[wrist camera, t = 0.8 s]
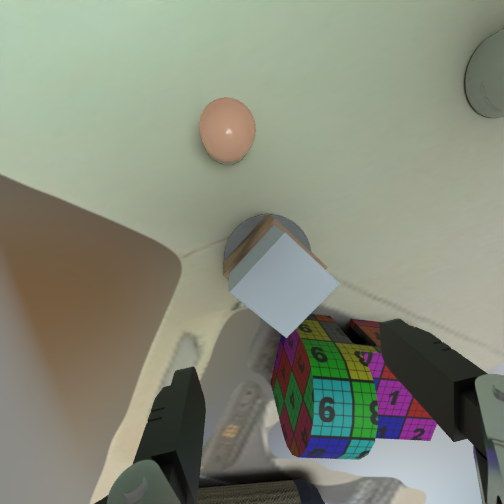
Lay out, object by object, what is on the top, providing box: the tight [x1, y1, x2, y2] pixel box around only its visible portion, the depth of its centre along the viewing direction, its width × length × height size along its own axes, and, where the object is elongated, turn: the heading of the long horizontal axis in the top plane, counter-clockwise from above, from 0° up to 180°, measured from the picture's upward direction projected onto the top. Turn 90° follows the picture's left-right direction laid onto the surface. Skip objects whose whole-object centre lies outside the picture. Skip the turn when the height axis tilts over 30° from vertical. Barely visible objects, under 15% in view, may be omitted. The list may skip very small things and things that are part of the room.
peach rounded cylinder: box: [199, 98, 256, 165], centre depth 27 cm, size 5×5×6 cm
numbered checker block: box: [271, 314, 437, 460], centre depth 33 cm, size 25×17×14 cm
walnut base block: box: [223, 214, 327, 280], centre depth 30 cm, size 8×8×5 cm
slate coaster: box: [224, 214, 311, 261], centre depth 33 cm, size 11×11×1 cm
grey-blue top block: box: [228, 225, 340, 338], centre depth 25 cm, size 7×7×5 cm
